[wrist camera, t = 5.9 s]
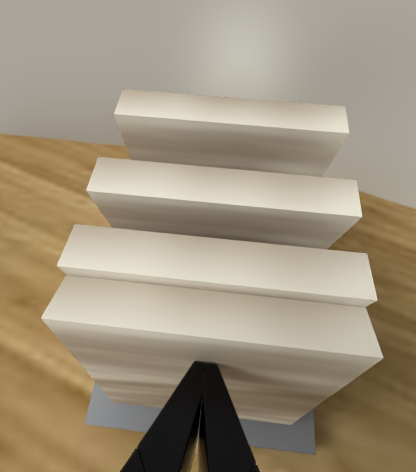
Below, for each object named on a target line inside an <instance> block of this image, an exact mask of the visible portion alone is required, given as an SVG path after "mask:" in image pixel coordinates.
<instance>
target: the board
mask: <svg viewBox="0 0 416 472" xmlns="http://www.w3.org/2000/svg"><path fill="white" fill-rule="evenodd" d="M161 410H162V408H154V407H146V406H138V405H131V404H123V403H115V402H113V401H112V400H111V399H110V398H109V397H108V396H107V395H106V393H105V392H104V391H103V390H102V389H101V388H100V386H99V385H98V384H97V383H96V382H95V384H94V388H93V392H92V396H91V400H90V404H89V408H88V412H87V416H86V420H85V424H86V425H94V426H102V427H109V428H117V429H124V430H132V431H139V432H147V431H148V429H149V428H150V426H151V425H152V423H153V422H154V420H155V419H156V417H157V416H158V414H159V413H160V411H161ZM200 414H201V413H200ZM239 420H240V423H241V425H242V428H243V430H244V433H245V436H246V438H247V441H248V443H249V446H253V447H260V448H268V449H275V450H283V451H290V452H298V453H306V454H313V455H316V450H315V430H314V410H313V409H312V410H311V411H309V412H308V413H307V414H305V415H304V416H302V417H301V418H300V419H298V420H297V421H295V422H294V423H293V424H291V425H286V424H279V423H271V422H263V421H255V420H247V419H240V418H239ZM199 424H200V423H199ZM197 439H199V431H198V437H197Z"/></svg>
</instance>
